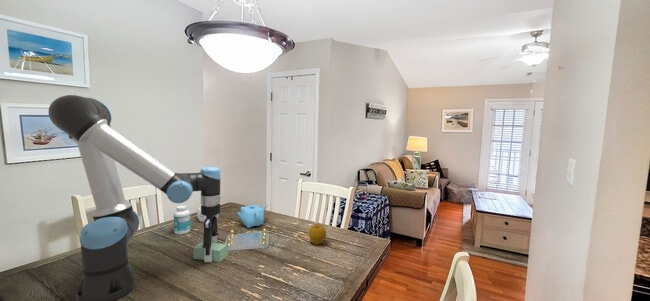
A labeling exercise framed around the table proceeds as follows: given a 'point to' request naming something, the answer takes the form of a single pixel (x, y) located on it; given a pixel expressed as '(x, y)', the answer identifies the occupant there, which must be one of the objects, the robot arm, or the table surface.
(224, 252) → the pale green block
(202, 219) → the mug
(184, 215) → the pill bottle
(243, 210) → the teapot
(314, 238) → the apple
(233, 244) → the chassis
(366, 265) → the table surface
